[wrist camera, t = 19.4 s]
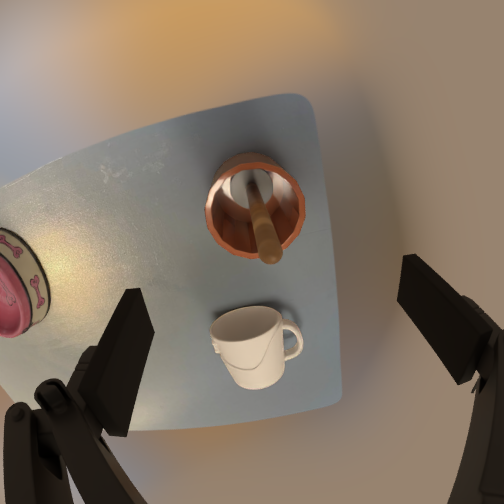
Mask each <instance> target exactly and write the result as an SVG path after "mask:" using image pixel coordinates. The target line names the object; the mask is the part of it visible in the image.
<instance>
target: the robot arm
mask: <svg viewBox="0 0 504 504" xmlns="http://www.w3.org/2000/svg"><path fill="white" fill-rule="evenodd" d="M397 302H398V303H399V304H400V305H401V307H402V308H403V309H404V311H405V312H406V313H407V314H408V316H409V317H410V318H411V320H412V321H413V323H414V324H415V325H416V326H417V328H418V329H419V330H420V332H421V333H422V335H423V336H424V337H425V339H426V340H427V342H428V343H429V344H430V346H431V347H432V348H433V350H434V351H435V353H436V354H437V356H438V357H439V358H440V360H441V361H442V363H443V364H444V366H445V367H446V368H447V370H448V371H449V373H450V374H451V376H452V377H453V378H454V380H455V382H456V383H457V385H460V384H463V383H465V382H468V381H470V380H471V379H472V377H473V375H474V373H475V371H476V370H477V371H478V373H479V374H480V376H479V378H478V380H477V382H476V384H475V386H474V387H473V389H472V392H471V393H474V391H475V389H476V394H475V401H474V406H473V412H472V417H471V423H470V427H469V432H468V436H467V440H466V445H465V448H464V453H463V456H462V460H461V463H460V467H459V470H458V473H457V477H456V480H455V483H454V486H453V489H452V492H451V495H450V498H449V500H448V503H447V504H504V330H502V329H501V328H500V327H499V326H498V325H497V324H496V323H495V322H494V321H493V320H492V319H491V318H490V317H489V316H488V315H487V314H486V313H484V311H483V310H482V309H481V308H479V306H478V305H477V304H476V303H475V302H474V301H473V300H472V299H470V298H468V297H466V296H461V295H459V294H458V293H457V292H456V291H455V290H454V289H453V288H452V287H451V286H450V285H449V284H448V283H447V282H446V281H445V280H444V279H443V278H441V276H439V275H438V274H437V273H436V272H435V271H434V270H433V269H432V268H431V267H429V265H427V264H426V263H425V262H424V261H423V260H422V259H421V258H420V257H418V256H417V255H416V254H410V255H404V256H403V262H402V270H401V277H400V284H399V290H398V297H397ZM154 333H155V332H154V329H153V326H152V323H151V320H150V317H149V314H148V311H147V308H146V305H145V302H144V299H143V296H142V292H141V289H140V288H133V289H126V290H125V292H124V294H123V296H122V298H121V300H120V301H119V303H118V305H117V307H116V309H115V311H114V313H113V315H112V317H111V319H110V321H109V323H108V325H107V327H106V329H105V331H104V333H103V335H102V337H101V339H100V341H99V343H98V345H97V346H89V347H88V348H87V349H86V350H85V351H84V352H83V353H82V355H81V357H80V359H79V361H78V364H77V365H76V368H75V371H74V372H73V374H72V376H71V378H70V380H69V382H68V384H67V386H66V387H65V385H64V384H63V382H62V381H61V380H59V379H48V380H45V381H44V382H42V383H41V384H40V385H39V386H38V387H37V388H36V391H35V393H34V399H35V400H36V401H37V403H38V404H39V405H40V407H41V408H42V409H36V410H31V408H30V407H29V406H28V405H27V404H26V403H24V402H17V403H15V404H13V405H12V406H11V407H10V408H9V409H8V410H7V412H6V415H5V423H4V447H3V448H4V449H3V458H4V459H3V462H4V463H3V466H4V489H5V502H6V504H74V503H73V498H72V494H71V489H70V484H69V479H68V474H67V468H68V471H69V473H70V475H71V477H72V479H73V481H74V483H75V485H76V487H77V489H78V491H79V493H80V495H81V497H82V499H83V501H84V502H85V504H147V502H146V501H145V500H144V498H143V497H142V496H141V494H140V493H139V492H138V490H137V489H136V488H135V486H134V485H133V483H132V482H131V481H130V479H129V478H128V476H127V475H126V473H125V472H124V470H123V469H122V467H121V466H120V464H119V463H118V461H117V460H116V458H115V456H114V455H113V453H112V452H111V450H110V448H109V447H108V445H107V443H106V442H105V440H104V439H103V437H102V436H101V433H102V430H103V428H104V429H105V431H106V432H107V433H108V434H109V436H119V437H127V433H128V429H129V425H130V421H131V417H132V413H133V409H134V405H135V401H136V397H137V393H138V389H139V386H140V382H141V378H142V375H143V371H144V367H145V364H146V360H147V357H148V353H149V350H150V346H151V343H152V340H153V336H154ZM66 466H67V468H66Z"/></svg>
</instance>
